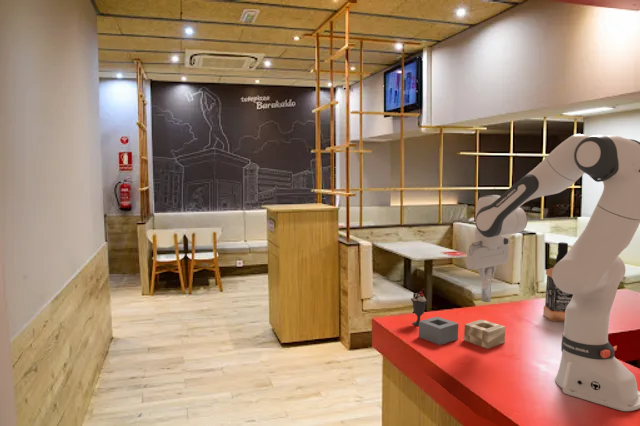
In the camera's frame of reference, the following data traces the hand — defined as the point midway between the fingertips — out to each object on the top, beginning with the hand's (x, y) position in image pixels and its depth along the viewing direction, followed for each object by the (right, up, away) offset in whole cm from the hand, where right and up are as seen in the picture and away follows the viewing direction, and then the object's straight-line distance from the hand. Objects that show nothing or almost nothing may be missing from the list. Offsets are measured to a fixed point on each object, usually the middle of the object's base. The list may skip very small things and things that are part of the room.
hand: (486, 278), depth 171 cm
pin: (0, -8, +1) cm, 8 cm away
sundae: (-20, -21, +21) cm, 36 cm away
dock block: (-16, -23, +6) cm, 28 cm away
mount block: (0, -23, +2) cm, 23 cm away
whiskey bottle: (+41, -21, +29) cm, 54 cm away
